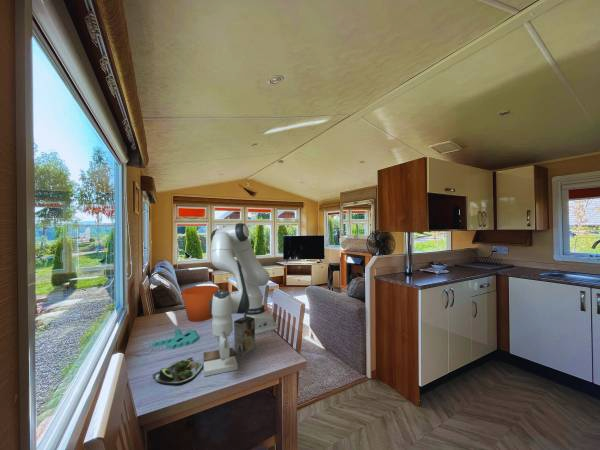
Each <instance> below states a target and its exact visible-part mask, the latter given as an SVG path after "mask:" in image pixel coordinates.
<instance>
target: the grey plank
mask: <svg viewBox="0 0 600 450" xmlns="http://www.w3.org/2000/svg"><path fill="white" fill-rule="evenodd" d="M238 365H239V364H238V362H237V358H236V356H233V357H229V358H226V359H225V360H223V361H221V359H217V360H212V361H206V362H204V361H203V370H204V371H203V373H204V375H203V376H204V377H208V376H213V375H214V376H215V375H218V374H222V373H228V372H232V371H236V370H239V369H238V367H239V366H238Z"/></svg>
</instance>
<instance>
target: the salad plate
mask: <svg viewBox="0 0 600 450" xmlns="http://www.w3.org/2000/svg"><path fill="white" fill-rule="evenodd" d="M193 359H194V358H193V357H189V358H185V359H182V360H179V361H178V360H177V361H175V362H171V363H170V364H169V365H167V366H166V367H162V368H160V370H159V371H157V372H155V373H154V374H151V377H153V378H155V381H156V383H158V384H160V385H163V386H173V387H175V386H181V385H186V384H187V383H189V382H191V381H192V380H193V379H194V378H196V375H197V374H199V372H200V371H201V370H202V369H203V364H202V362H200V361H199V362H198V361H192V360H193ZM192 369H195V370H194V371H192Z"/></svg>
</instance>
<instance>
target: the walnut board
mask: <svg viewBox="0 0 600 450" xmlns="http://www.w3.org/2000/svg"><path fill="white" fill-rule="evenodd" d="M229 351H230V356H229V357H233V356H235V352H234V347H229ZM235 357H236V356H235ZM217 359H221V358H220V353H219V349H216V350H211V351H205V352H203V363H204V362H206V361H212V360H217Z"/></svg>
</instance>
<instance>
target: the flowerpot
mask: <svg viewBox="0 0 600 450" xmlns="http://www.w3.org/2000/svg"><path fill="white" fill-rule="evenodd" d="M217 291H220V290H219V287H218V286H215V285H197V286H191V287H187V288H183V289H182V290H181V291H180V293H181V296H182V301H183V305H184V308H185V311H186V312H185V313H186V316H187V320H188V321H189V322H193V323H200V322H205V321H208V320H210V319H213V316H212V314H211V313H210V304H209V302H210V300H211V299H212V297H213V294H214V293H215V292H217Z"/></svg>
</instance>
